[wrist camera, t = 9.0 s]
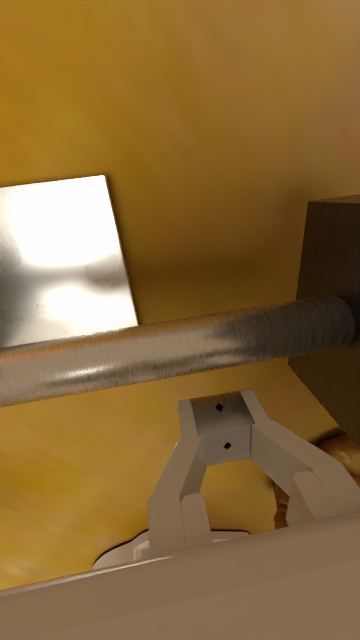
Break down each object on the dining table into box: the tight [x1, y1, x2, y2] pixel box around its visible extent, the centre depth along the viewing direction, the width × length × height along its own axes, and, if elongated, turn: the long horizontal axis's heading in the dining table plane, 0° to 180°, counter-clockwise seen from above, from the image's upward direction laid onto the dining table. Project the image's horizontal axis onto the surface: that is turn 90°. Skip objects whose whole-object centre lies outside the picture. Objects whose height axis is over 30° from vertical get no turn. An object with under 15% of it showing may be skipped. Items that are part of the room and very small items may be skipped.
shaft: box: [0, 195, 360, 449], centre depth 9 cm, size 21×8×5 cm, turn 96°
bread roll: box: [274, 436, 360, 530], centre depth 25 cm, size 13×10×8 cm
